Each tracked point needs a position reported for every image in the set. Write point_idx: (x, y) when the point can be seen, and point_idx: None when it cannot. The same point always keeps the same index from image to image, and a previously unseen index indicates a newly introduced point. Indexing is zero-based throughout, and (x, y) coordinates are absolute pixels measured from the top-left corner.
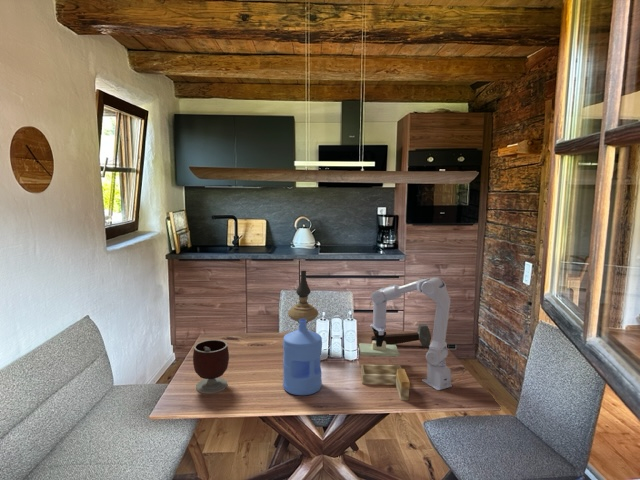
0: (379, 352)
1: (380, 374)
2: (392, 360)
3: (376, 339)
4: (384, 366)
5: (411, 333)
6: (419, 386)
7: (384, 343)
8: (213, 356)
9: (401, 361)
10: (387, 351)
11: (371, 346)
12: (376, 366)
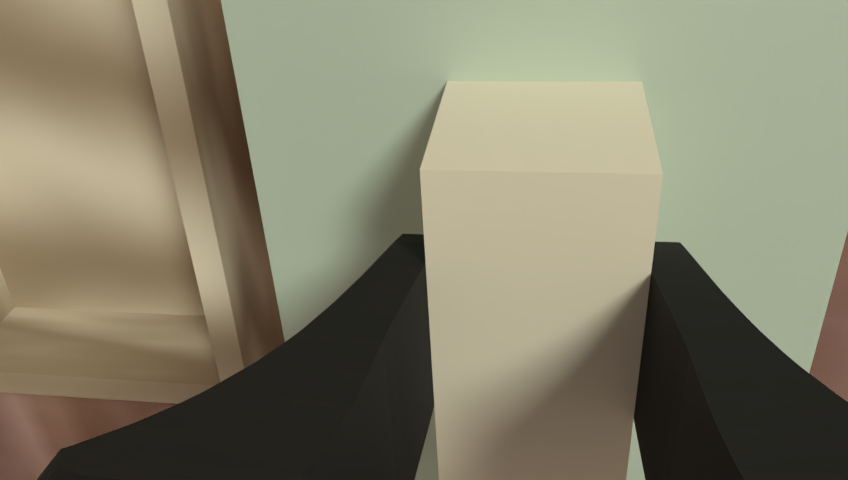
0: (280, 223)
1: (148, 78)
2: None
3: (280, 359)
4: (181, 190)
5: None
6: (45, 438)
7: (443, 455)
8: None
9: None
10: None
11: (660, 75)
12: (153, 53)
